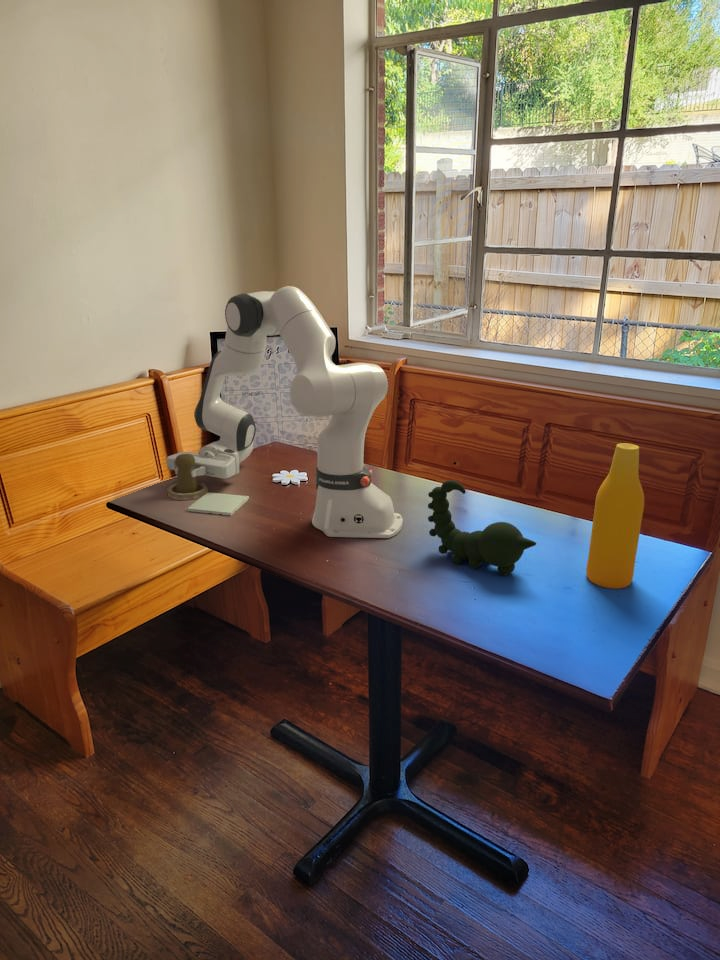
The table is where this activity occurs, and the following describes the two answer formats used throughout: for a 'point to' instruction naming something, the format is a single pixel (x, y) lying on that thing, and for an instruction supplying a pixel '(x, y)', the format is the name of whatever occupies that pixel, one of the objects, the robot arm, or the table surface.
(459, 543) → the toy figurine
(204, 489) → the ring
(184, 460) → the cork
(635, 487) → the beer bottle
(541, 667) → the table surface
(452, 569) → the table surface
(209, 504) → the ceramic tile
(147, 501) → the table surface
